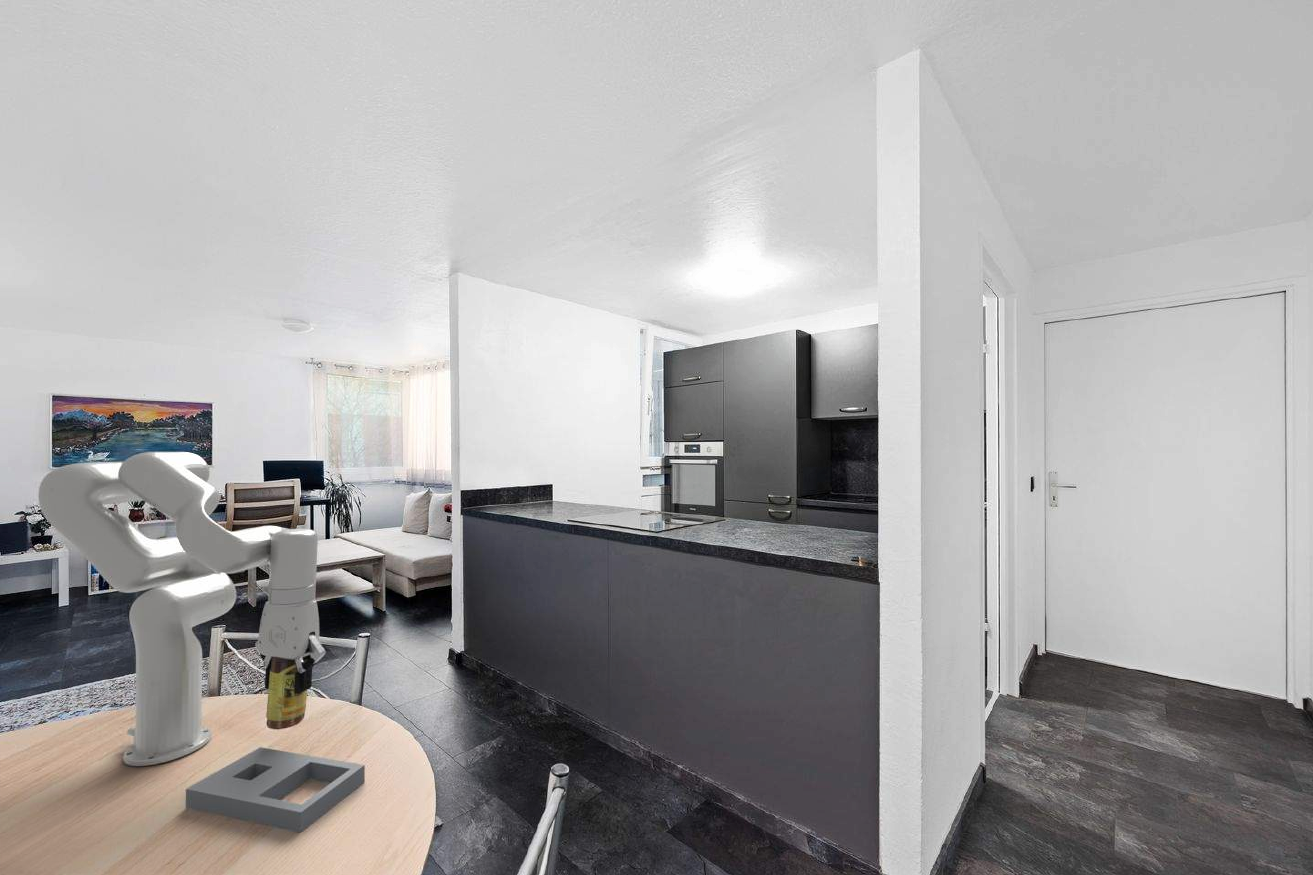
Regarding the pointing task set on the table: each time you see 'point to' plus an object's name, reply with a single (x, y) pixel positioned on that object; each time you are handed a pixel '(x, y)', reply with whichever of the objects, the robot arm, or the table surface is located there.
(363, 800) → the table surface
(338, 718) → the table surface
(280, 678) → the sauce bottle
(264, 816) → the caddy
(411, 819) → the table surface
